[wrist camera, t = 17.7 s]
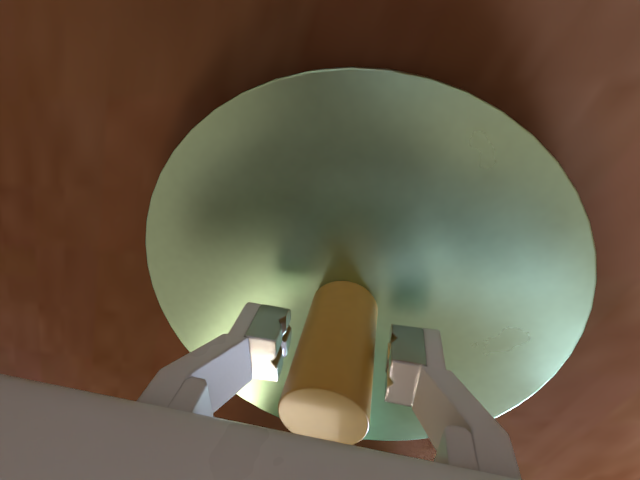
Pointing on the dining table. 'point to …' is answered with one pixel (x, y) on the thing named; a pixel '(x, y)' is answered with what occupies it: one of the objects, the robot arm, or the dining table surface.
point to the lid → (373, 242)
